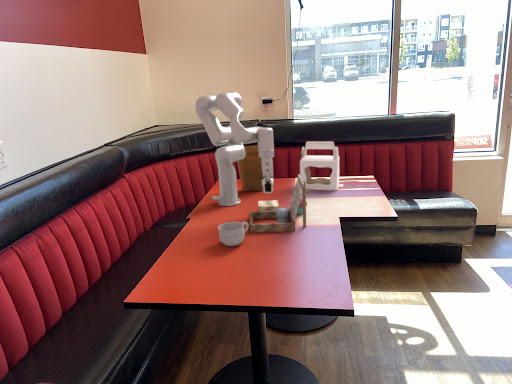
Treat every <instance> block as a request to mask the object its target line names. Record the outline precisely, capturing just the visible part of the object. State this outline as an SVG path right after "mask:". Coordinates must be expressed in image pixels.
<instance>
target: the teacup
mask: <svg viewBox="0 0 512 384" xmlns="http://www.w3.org/2000/svg"><path fill="white" fill-rule="evenodd" d="M249 228H250V224H249V222H247V221H242V222H241V221H229V222H224V223H221V224H219V225H218V226H217V231H218V237H219V241H220V242H221V243H222V244H223V245H225V246H227V247H235V246H238V245H241V243H242V242H243V241H244V240H245V234H246V232H247V231H248V230H249Z"/></svg>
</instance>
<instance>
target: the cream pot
mask: <svg viewBox="0 0 512 384" xmlns="http://www.w3.org/2000/svg"><path fill="white" fill-rule="evenodd" d="M270 179H271V190H272V191H271V192H265V178H264V179H262V187H263V189H264V191H263V194H272V193H274V188H273V187H274V186H275V184H274V177H273V178H272V177H270Z"/></svg>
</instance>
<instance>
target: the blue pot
mask: <svg viewBox="0 0 512 384" xmlns="http://www.w3.org/2000/svg"><path fill="white" fill-rule="evenodd" d="M288 210H289V208H287V207H279V208H278V209H276V217H277V218H276V219H277V223H287V222H288Z"/></svg>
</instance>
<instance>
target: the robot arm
mask: <svg viewBox="0 0 512 384" xmlns="http://www.w3.org/2000/svg"><path fill="white" fill-rule="evenodd" d="M194 105H195V112H196V115H197V117H198V118H199V120H200V121H201V123H202V124H203V126H204V130H205V131H206V133H207V136H208V137H209V140H210V141H211V144H212V145H213V146H216V147H217V146H218V148H217V149H216V150H215V153H214V157H215V161H216V166H217V172H218V183H219V184H218V185H219V195H217V196H216V195H212V198H211V199H212V200H214V201H217V204H218V205H219V206H222V207H232V206H236V205H240V204H241V202H242V201H241V199H240V198H238V196H239V194H238V183H237V182H238V180H237V170H236V167H235V166H234V164H233V163H235V162H237V161H240V160H243V159H244V157H245V154H246V152H245V148H244V146H245V145H249V144H253V143H257V145H258V154H259V158H261V163H262V172H263V178H265V192H271V191H272V190H271V179H270V178H273V179H274V165H273V164H274V163H273V158H275V143H274V130H273V128H272V127H264V126H263V127H262V126H260V125H259V126H258V125H257V126H251V127H250V126H249V127H245V126H244V125H242V123H240V121H241V120H242V119H243V117H244V114H245V112H244V109H243V108H242V107H241V105H242V97H241V95H240V94H239V93H238V92H237V91H236V92H235V91H225V92H220V93H216V94H205V95H201V96H199V97H198V98H197V99H196V101H195V104H194ZM215 111H220V112H222V114H224V116H225V117H226V118H227V119H228V120H229V125H228V126H222V124H221V123H220V120H219V118H218V117H217V116H216V115H215V114H214V113H213V112H215ZM219 146H220V147H219ZM237 163H238V162H237Z"/></svg>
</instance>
